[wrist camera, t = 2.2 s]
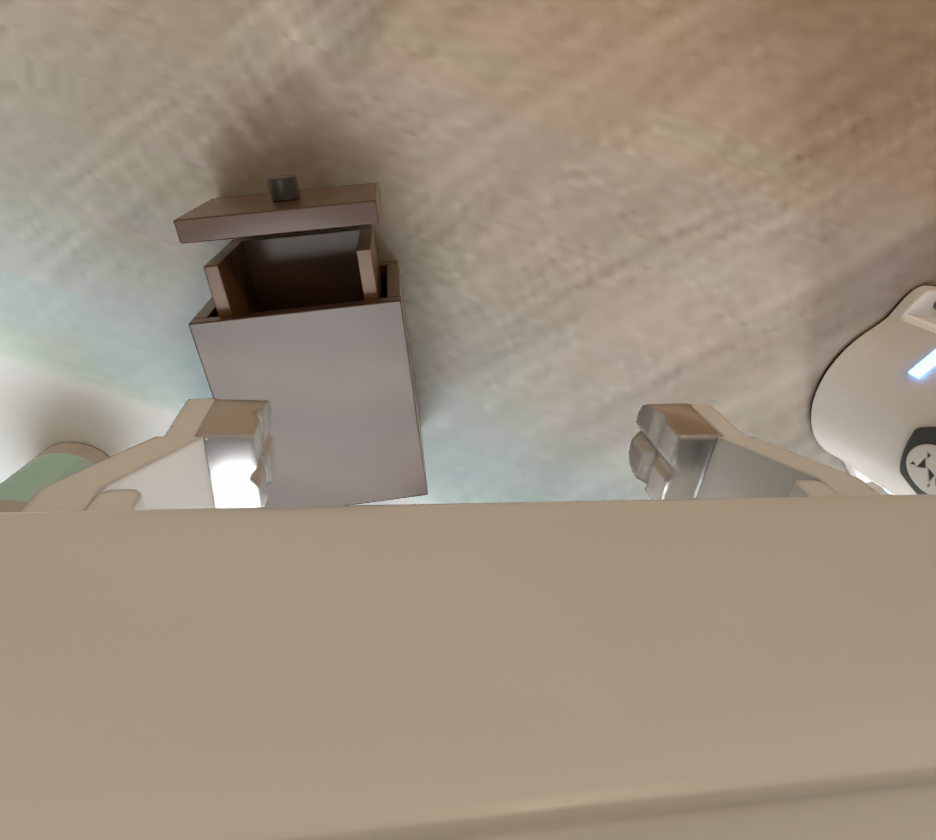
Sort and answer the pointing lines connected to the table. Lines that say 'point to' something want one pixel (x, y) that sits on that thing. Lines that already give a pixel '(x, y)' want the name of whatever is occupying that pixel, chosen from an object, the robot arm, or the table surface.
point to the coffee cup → (46, 472)
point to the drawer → (289, 246)
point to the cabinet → (326, 394)
